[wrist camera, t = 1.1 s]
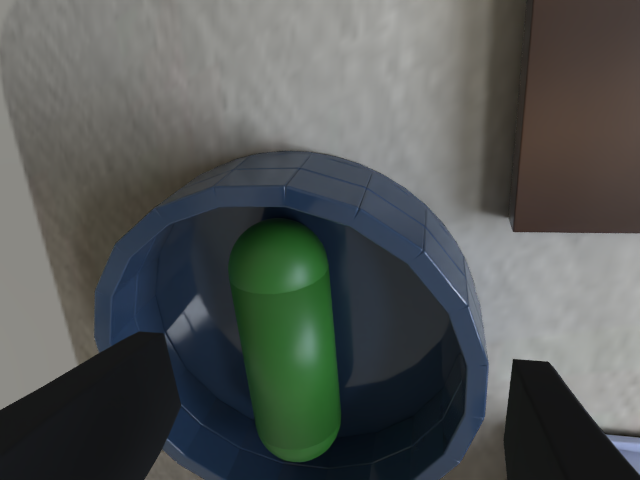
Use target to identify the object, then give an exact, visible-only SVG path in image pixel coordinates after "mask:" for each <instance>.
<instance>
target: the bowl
mask: <svg viewBox="0 0 640 480" xmlns="http://www.w3.org/2000/svg"><path fill="white" fill-rule="evenodd" d="M272 218H284V219H290V220H294V221H297V222H299V223H301V224H303V225H305V226H306V227H308V228H309V229H310V230H311V231H312V232H314V233H315V234H316V236H317V237H318V238H319V240H320V241H321V243H322V244H323V246H324V248H325V251H326V254H327V259H328V263H329V275H330V287H331V298H332V310H333V322H334V334H335V346H336V357H337V369H338V381H339V393H340V405H341V424H340V428H339V431H338V434H337V437H336V439H335V440H334V442H333V443H332V445H331V446H330V448H329V449H328V450H327V451H326V452H324V453H323V454H322V455H320V456H318V457H317V458H314V459H312V460H309V461H306V462H290V461H285V460H283V459H280V458H278V457H277V456H275V455H274V454H272V453H271V452H270V451H269V450H268V449H267V448H266V447H265V446H264V444H263V443H262V441H261V439H260V437H259V435H258V432H257V429H256V424H255V419H254V413H253V408H252V402H251V397H250V391H249V386H248V380H247V375H246V369H245V364H244V358H243V353H242V347H241V342H240V336H239V331H238V325H237V320H236V314H235V309H234V303H233V298H232V292H231V287H230V281H229V275H228V264H229V258H230V253H231V251H232V248H233V246H234V244H235V243H236V241H237V240H238V238H239V237H240V235H241V234H242V233H244V232H245V231H246V230H247V229H248V228H249V227H251V226H252V225H254V224H256V223H258V222H261V221H263V220H267V219H272ZM139 331H142V332H155V333H164V335H165V340H166V344H167V348H168V352H169V356H170V360H171V364H172V368H173V373H174V377H175V381H176V385H177V389H178V393H179V397H180V401H181V408H180V410H179V412H178V415H177V417H176V419H175V422H174V424H173V427H172V429H171V431H170V433H169V436H168V438H167V440H166V442H165V444H164V446H163V448H162V450H164V451H165V452H166V453H167V454H168V455H169V456H170V457H171V458H172V459H173V460H174V461H177V463H178V464H179V465H181V466H183V467H184V468H186V469H188V470H189V471H191V472H193V473H194V474H196V475H198V476H199V477H201V478H203V479H204V480H440V479H441V478H442V477H443V476H444V475H446V474H447V473H448V472H449V471H451V470H452V469H453V468H454V467H456V466H457V465H458V464H459V463H460V461H461V460H462V459H463V457H464V455H465V453H466V451H467V449H468V448H469V446H470V444H471V442H472V440H473V439H474V437H475V435H476V433H477V431H478V429H479V428H480V426H481V424H482V422H483V420H484V417H485V411H486V398H487V384H488V371H489V363H488V355H487V348H486V341H485V334H484V327H483V320H482V313H481V306H480V302H479V299H478V296H477V293H476V290H475V285H474V281H473V278H472V275H471V272H470V270H469V267H468V264H467V261H466V259H465V257H464V256H463V254H462V252H461V250H460V248H459V246H458V244H457V242H456V241H455V239H454V238H453V237H452V235H451V234H450V232H449V231H448V230H447V228H446V227H445V225H444V224H443V223H442V222H441V220H440V219H439V218H438V217H437V216H436V215H435V214H434V213H433V212H432V211H431V210H430V209H429V208H428V207H427V206H426V205H425V204H424V203H423V202H422V201H420V200H419V199H418V198H417V197H415V196H414V195H413V194H412V193H410V192H409V191H408V190H407V189H406V188H404V187H402V186H401V185H399V184H398V183H396V182H394V181H393V180H391V179H389V178H388V177H386V176H384V175H383V174H381V173H378V172H376V171H374V170H372V169H370V168H367V167H365V166H363V165H361V164H358V163H355V162H352V161H348V160H345V159H342V158H339V157H335V156H330V155H325V154H319V153H313V152H301V151H277V152H266V153H258V154H254V155H250V156H246V157H242V158H238V159H235V160H233V161H230V162H228V163H225V164H222V165H220V166H217V167H216V168H214V169H212V170H210V171H208V172H205V173H202V174H200V175H199V176H197V177H196V178H194V179H193V180H192V181H190V182H189V183H188V184H186V185H185V186H184V187H182V188H181V189H179V190H178V191H177V192H175V193H174V194H172V195H171V196H170V197H168V198H167V199H166V200H164V201H163V202H162V203H160V204H159V205H157V206H156V207H155V208H153V209H152V210H151V211H150V212H149V213H148V214H147V215H146V216H145V217H144V218H143V219H141V220H140V221H139V222H138V223H137V224H136V225H135V226H134V227H133V228H132V229H131V230H129V231H128V232H127V233H126V234H125V235H124V236H123V237H122V238H121V239H120V240H119V241H117V242H116V243H115V245H114V247H113V249H112V252H111V254H110V256H109V259H108V261H107V263H106V266H105V268H104V270H103V272H102V275H101V277H100V279H99V282H98V284H97V286H96V289H95V306H94V338H95V342H96V345H97V348H98V351H99V353H100V352H102V351H104V350H106V349H107V348H109V347H111V346H112V345H114V344H116V343H118V342H120V341H121V340H123V339H125V338H127V337H129V336H131V335H133V334H135V333H137V332H139Z"/></svg>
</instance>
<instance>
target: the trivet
mask: <svg viewBox="0 0 640 480" xmlns="http://www.w3.org/2000/svg"><path fill="white" fill-rule="evenodd" d="M509 221H510V224H511V227H512V230H513V232H562V233H640V0H526V12H525V24H524V36H523V48H522V60H521V72H520V85H519V97H518V109H517V121H516V133H515V145H514V157H513V169H512V182H511V194H510V206H509Z"/></svg>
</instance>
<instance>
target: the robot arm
mask: <svg viewBox="0 0 640 480" xmlns="http://www.w3.org/2000/svg"><path fill="white" fill-rule="evenodd" d="M180 408H181V401H180V397H179V393H178V389H177V385H176V381H175V377H174V373H173V368H172V364H171V360H170V356H169V352H168V348H167V344H166V340H165V335H164V333H155V332H142V331H139V332H137V333H135V334H133V335H131V336H129V337H127V338H125V339H123V340H121V341H120V342H118V343H116V344H114V345H112V346H111V347H109V348H107V349H106V350H104V351H102V352H100V353H99V354H97V355H95V356H94V357H92V358H90V359H89V360H87V361H85V362H84V363H82V364H80V365H78V366H77V367H75V368H73V369H72V370H70V371H68V372H67V373H65V374H63V375H62V376H60V377H58V378H56V379H55V380H53V381H52V382H50V383H48V384H46V385H45V386H43V387H41V388H39V389H38V390H36V391H34V392H33V393H30V394H29V395H27V396H25V397H23V398H21V399H20V400H18V401H16V402H14V403H12V404H10V405H9V406H7V407H5V408H3V409H2V410H0V480H144V479H145V477H146V476H147V474H148V472H149V471H150V469H151V467H152V466H153V464H154V462H155V461H156V459H157V457H158V455H159V454H160V452H161V450H162V448H163V446H164V444H165V442H166V440H167V438H168V436H169V433H170V431H171V429H172V427H173V424H174V422H175V419H176V417H177V415H178V412H179V410H180ZM504 449H505V461H506V471H507V480H640V438H638V437H627V436H616V435H606V434H604V432H603V431H602V430H601V429H600V427H599V426H598V425H597V424H596V422H595V421H594V420H593V419H592V417H591V416H590V415H589V414H588V412H587V411H586V410H585V409H584V407H583V406H582V405H581V403H580V402H579V401H578V400H577V398H576V397H575V396H574V394H573V393H572V392H571V390H570V389H569V388H568V386H567V385H566V384H565V382H564V381H563V379H562V378H561V377H560V375H559V374H558V373H557V371H556V370H555V369H554V367H553V366H552V365H551V364H550V363H549V362H545V361H532V360H518V359H513V364H512V372H511V381H510V390H509V398H508V407H507V416H506V424H505V433H504Z"/></svg>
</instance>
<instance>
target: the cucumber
mask: <svg viewBox="0 0 640 480" xmlns="http://www.w3.org/2000/svg"><path fill="white" fill-rule="evenodd" d="M228 275H229V281H230V287H231V292H232V298H233V303H234V309H235V314H236V320H237V325H238V331H239V336H240V342H241V347H242V353H243V358H244V364H245V369H246V375H247V380H248V386H249V391H250V397H251V402H252V408H253V413H254V419H255V424H256V429H257V432H258V435H259V437H260V439H261V441H262V443H263V444H264V446H265V447H266V448H267V449H268V450H269V451H270V452H271V453H272V454H274V455H275V456H277V457H278V458H280V459H283V460H285V461H290V462H306V461H309V460H312V459H314V458H317V457H318V456H320V455H322V454H323V453H324V452H326V451H327V450H328V449H329V448H330V446H331V445H332V443H333V442H334V440H335V439H336V437H337V434H338V431H339V428H340V424H341V405H340V393H339V381H338V369H337V357H336V346H335V334H334V322H333V310H332V298H331V287H330V275H329V263H328V259H327V254H326V251H325V248H324V246H323V244H322V243H321V241H320V240H319V238H318V237H317V236H316V234H315V233H314V232H312V231H311V230H310V229H309V228H308V227H306V226H305V225H303V224H301V223H299V222H297V221H294V220H290V219H284V218H272V219H267V220H263V221H261V222H258V223H256V224H254V225H252V226H251V227H249V228H248V229H247V230H246V231H245V232H244V233H242V234H241V235H240V237H239V238H238V240H237V241H236V243H235V244H234V246H233V248H232V251H231V253H230V258H229V264H228Z"/></svg>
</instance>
